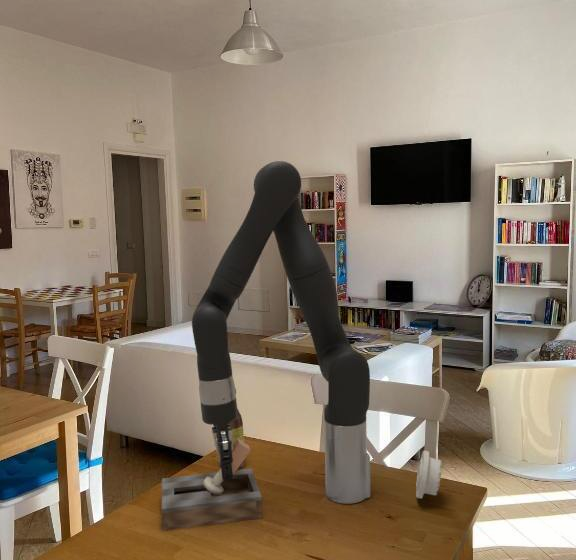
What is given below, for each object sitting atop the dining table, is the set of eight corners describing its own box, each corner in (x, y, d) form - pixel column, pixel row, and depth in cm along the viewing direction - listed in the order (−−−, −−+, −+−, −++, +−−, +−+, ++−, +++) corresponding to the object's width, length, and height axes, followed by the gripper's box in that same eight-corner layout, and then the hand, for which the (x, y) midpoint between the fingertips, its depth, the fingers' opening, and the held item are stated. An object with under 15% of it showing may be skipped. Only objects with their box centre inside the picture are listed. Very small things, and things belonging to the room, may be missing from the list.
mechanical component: (414, 484, 129) (422, 443, 128) (434, 488, 128) (442, 447, 127) (414, 505, 120) (422, 461, 118) (435, 510, 119) (444, 465, 117)
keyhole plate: (252, 487, 130) (251, 468, 130) (262, 518, 116) (261, 496, 116) (162, 498, 126) (161, 478, 125) (162, 531, 112) (161, 509, 112)
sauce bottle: (248, 462, 144) (246, 385, 142) (241, 472, 138) (238, 392, 136) (224, 460, 146) (221, 384, 144) (215, 470, 140) (212, 391, 138)
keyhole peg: (219, 489, 123) (250, 445, 124) (221, 499, 119) (254, 454, 120) (202, 478, 122) (234, 434, 123) (203, 487, 118) (236, 442, 119)
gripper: (240, 404, 113) (249, 486, 115) (231, 385, 127) (239, 459, 129) (202, 410, 112) (212, 493, 114) (198, 391, 125) (206, 465, 127)
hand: (226, 475), depth 121 cm, fingers closed on keyhole peg, 3 cm apart
